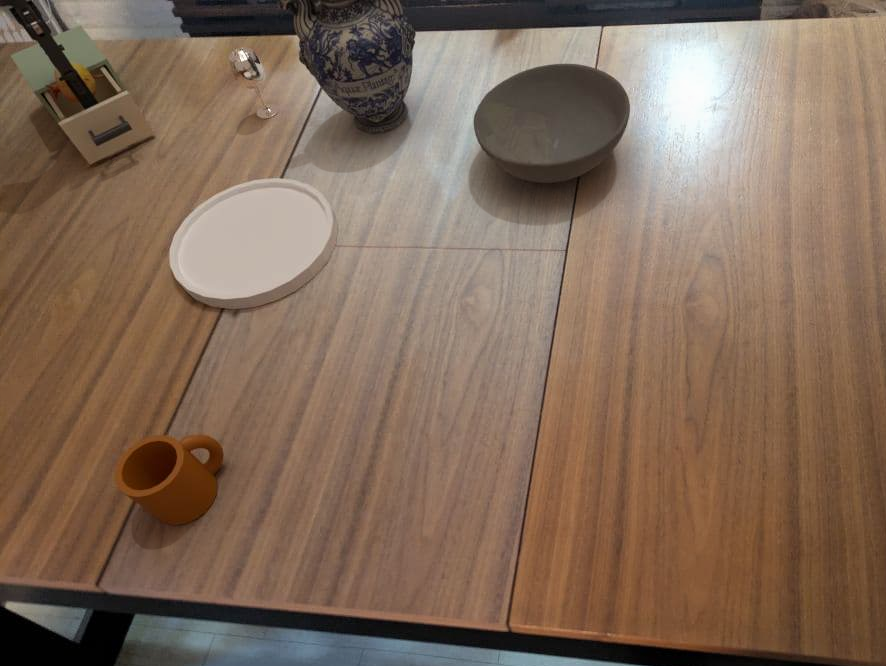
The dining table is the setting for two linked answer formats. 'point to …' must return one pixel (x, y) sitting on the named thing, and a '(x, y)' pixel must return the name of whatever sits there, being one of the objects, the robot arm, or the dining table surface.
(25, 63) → the cabinet
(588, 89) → the bowl
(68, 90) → the fruit
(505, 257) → the dining table surface
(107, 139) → the drawer
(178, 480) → the mug
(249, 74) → the wineglass
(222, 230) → the plate
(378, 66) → the decorative vase
